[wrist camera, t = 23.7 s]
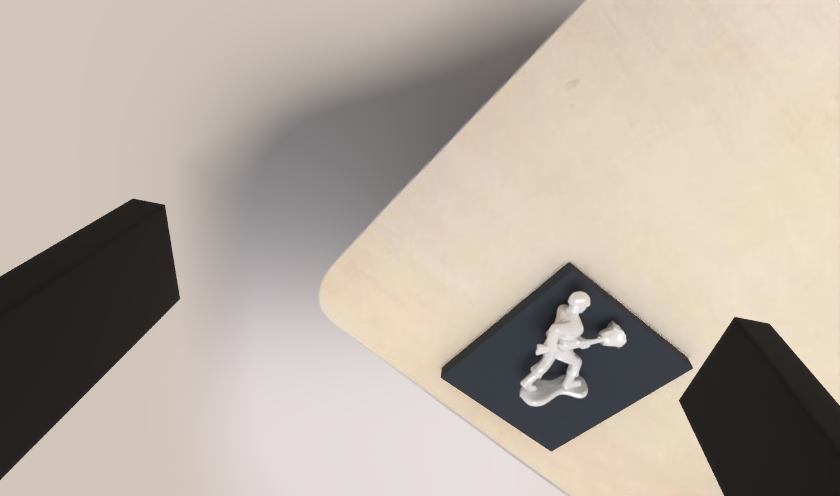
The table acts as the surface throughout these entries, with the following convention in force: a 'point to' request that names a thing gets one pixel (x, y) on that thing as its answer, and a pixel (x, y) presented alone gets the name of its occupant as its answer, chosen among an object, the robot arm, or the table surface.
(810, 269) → the table surface
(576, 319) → the figurine
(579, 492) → the table surface
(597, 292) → the display mat
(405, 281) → the table surface
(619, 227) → the table surface
